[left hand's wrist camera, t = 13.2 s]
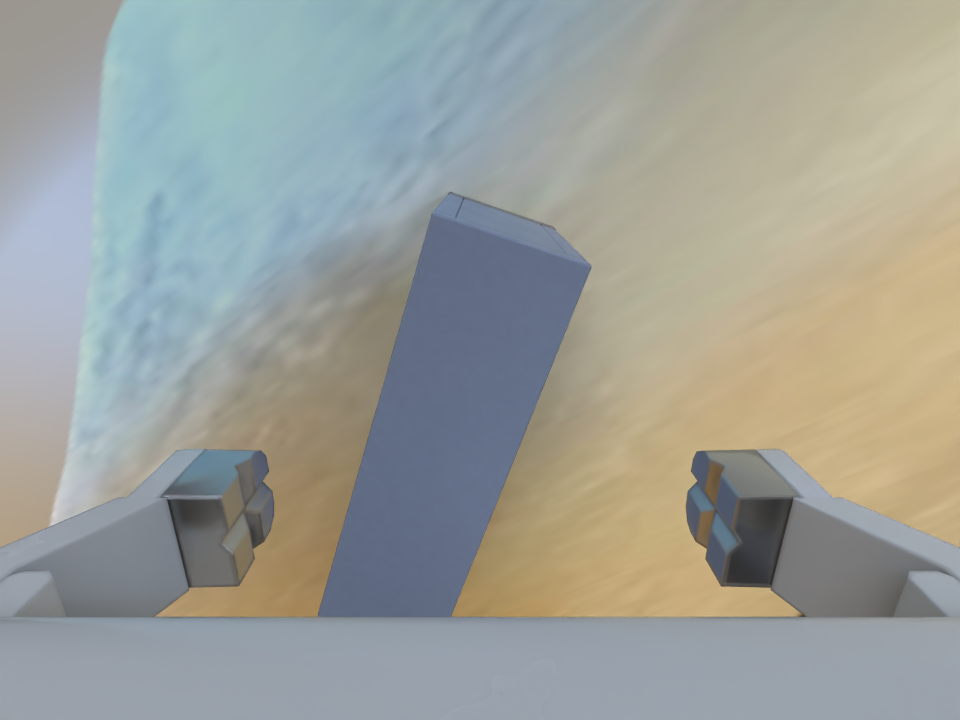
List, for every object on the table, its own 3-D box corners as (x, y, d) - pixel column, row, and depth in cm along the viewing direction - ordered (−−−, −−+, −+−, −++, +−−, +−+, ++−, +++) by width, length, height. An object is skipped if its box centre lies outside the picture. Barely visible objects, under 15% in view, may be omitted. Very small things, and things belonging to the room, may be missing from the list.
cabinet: (451, 505, 32) (439, 647, 23) (365, 481, 32) (316, 618, 22) (553, 226, 26) (593, 265, 17) (449, 191, 26) (432, 211, 16)
